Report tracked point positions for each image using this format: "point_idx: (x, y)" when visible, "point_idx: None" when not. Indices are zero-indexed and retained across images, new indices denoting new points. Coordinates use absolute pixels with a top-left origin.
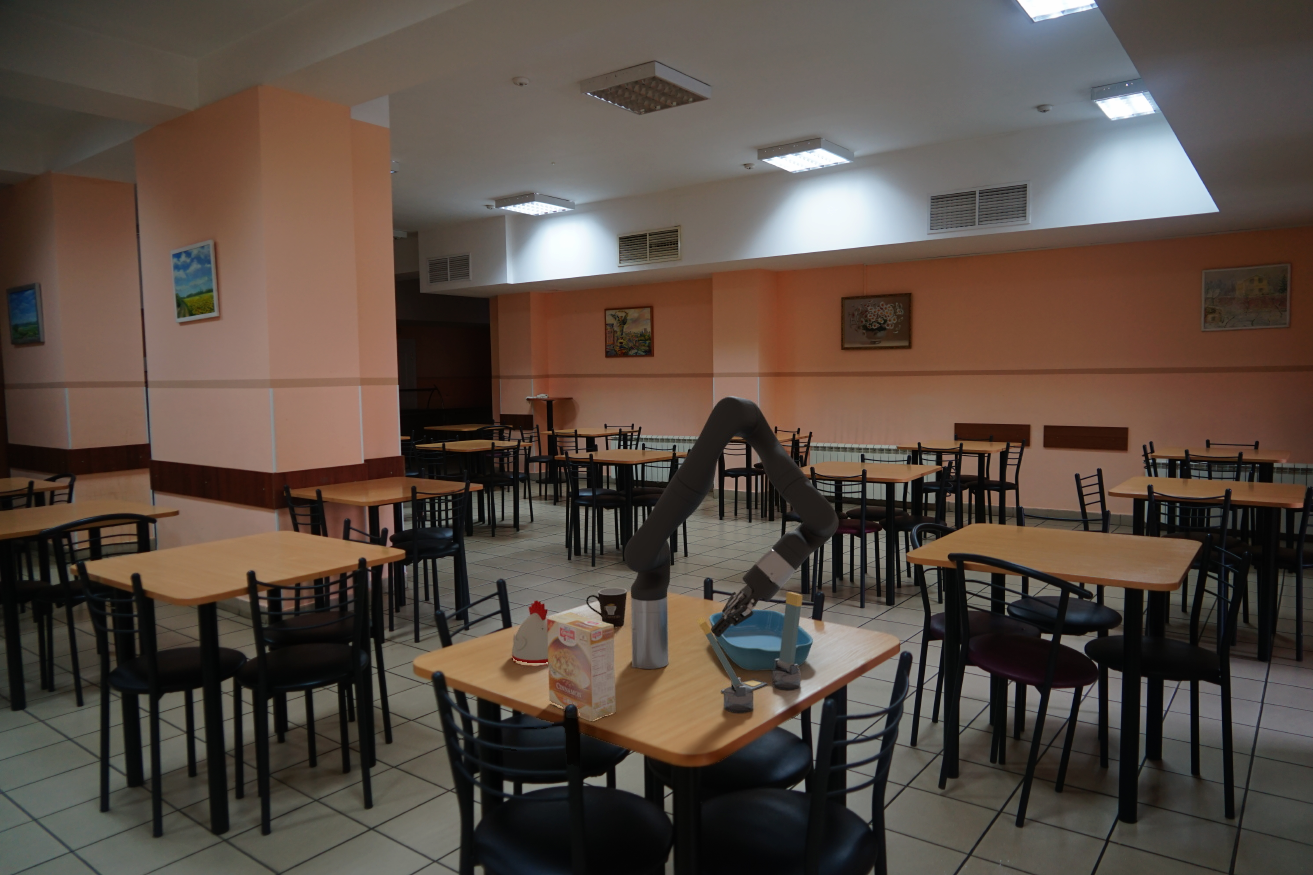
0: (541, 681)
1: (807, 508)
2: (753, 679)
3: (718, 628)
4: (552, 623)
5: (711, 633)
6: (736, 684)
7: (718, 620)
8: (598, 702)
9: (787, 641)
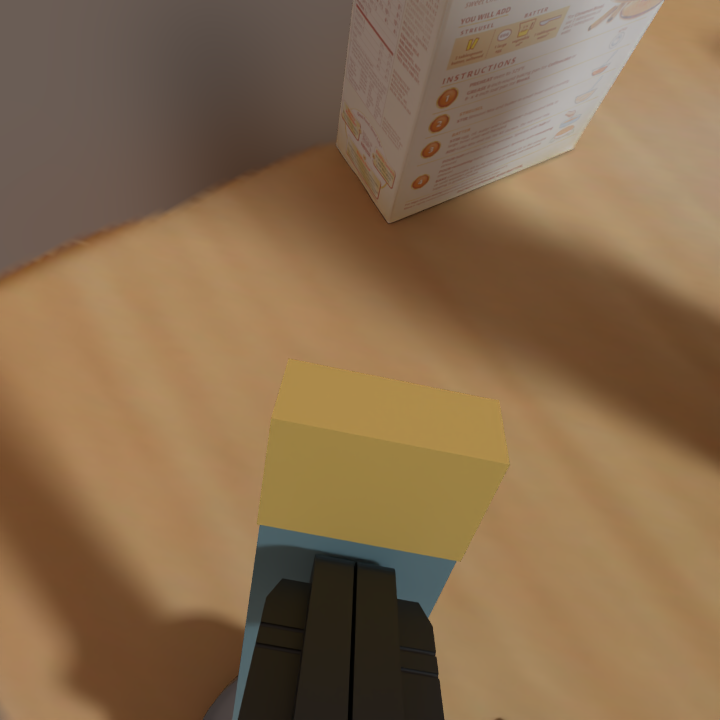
0: (711, 103)
1: None
2: None
3: (261, 626)
4: None
5: (260, 528)
6: None
7: (396, 681)
8: (354, 119)
9: None
